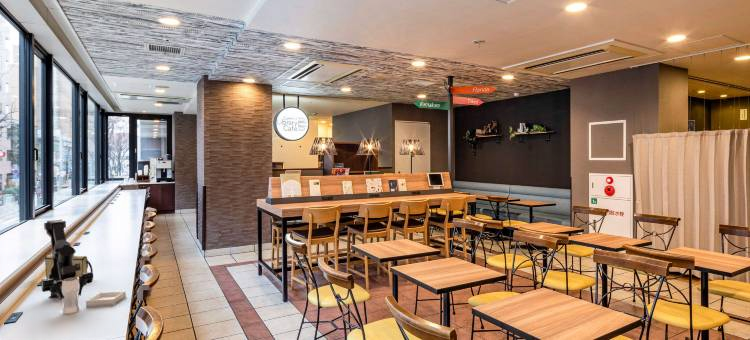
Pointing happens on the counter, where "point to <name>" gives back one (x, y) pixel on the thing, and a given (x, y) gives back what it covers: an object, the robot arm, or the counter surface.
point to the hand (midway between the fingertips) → (71, 297)
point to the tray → (106, 299)
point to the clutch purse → (76, 259)
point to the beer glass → (70, 294)
